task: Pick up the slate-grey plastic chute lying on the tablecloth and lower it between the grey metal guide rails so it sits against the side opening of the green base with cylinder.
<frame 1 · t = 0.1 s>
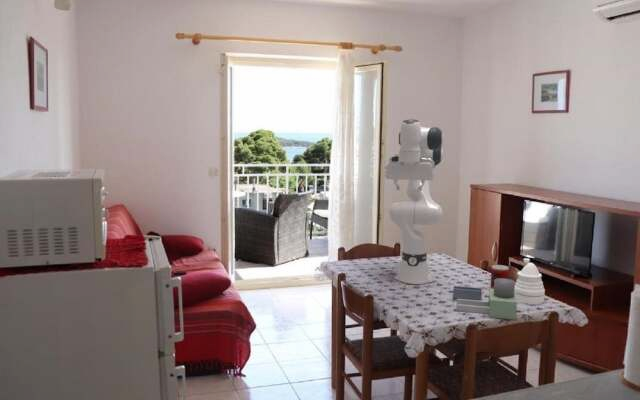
hand: (408, 190, 238), 48 cm above the table, tool pointing down, fingers open, 8 cm apart
chute: (467, 299, 244), on the table
green base with cylinder: (501, 311, 228), on the table
honey pot: (528, 300, 244), on the table
canned food: (498, 290, 259), on the table
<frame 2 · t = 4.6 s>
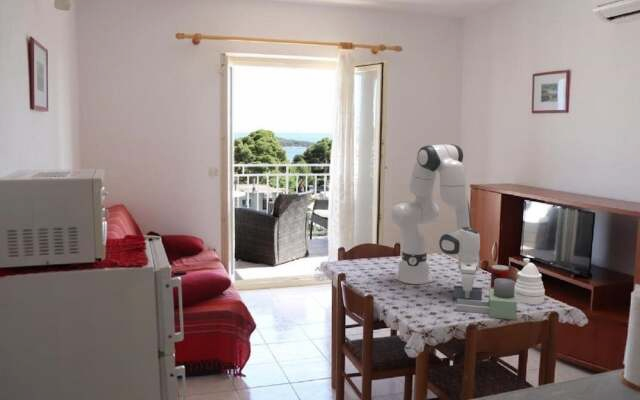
hand: (467, 295, 244), 2 cm above the table, tool pointing down, fingers closed on chute, 5 cm apart
chute: (467, 299, 244), on the table, touching gripper
everything else where it was.
when the fingers open (4 cm above the table, at t = 10.6 s): chute drops 2 cm, resting in green base with cylinder.
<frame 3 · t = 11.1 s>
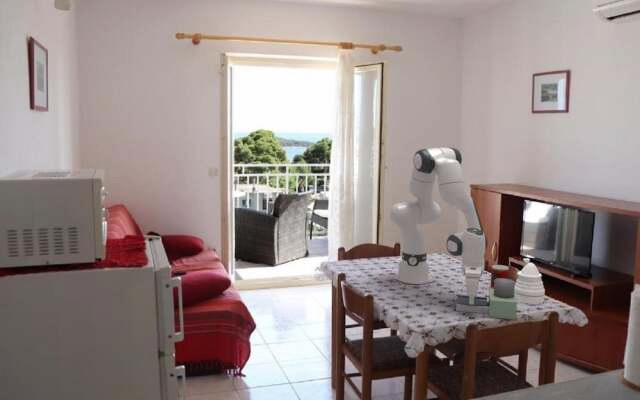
hand: (471, 300, 230), 4 cm above the table, tool pointing down, fingers open, 8 cm apart
chute: (471, 309, 231), resting in green base with cylinder
everything else where it was.
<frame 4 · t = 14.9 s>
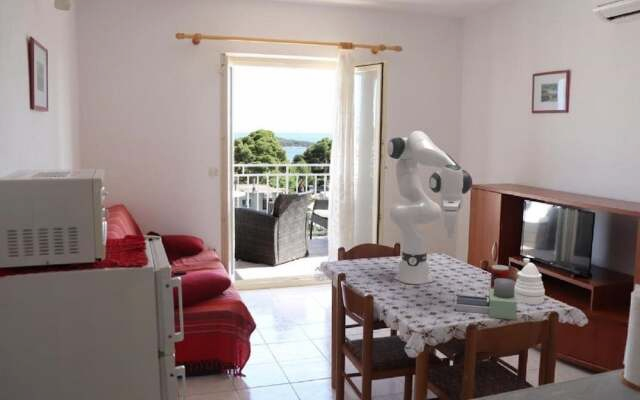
hand: (450, 235, 236), 29 cm above the table, tool pointing down, fingers open, 8 cm apart
nothing on the table moved.
at the end: chute 0.2 cm from the target spot, resting in green base with cylinder; chute tilted 0°; the gripper is holding nothing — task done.
